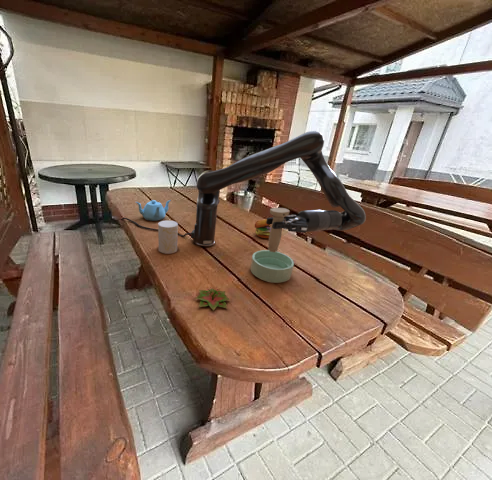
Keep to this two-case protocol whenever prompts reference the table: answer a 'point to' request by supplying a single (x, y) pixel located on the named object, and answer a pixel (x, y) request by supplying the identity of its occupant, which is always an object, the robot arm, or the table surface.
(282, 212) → the handle
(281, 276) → the pale green bowl
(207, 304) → the lily flower
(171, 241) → the white cylinder
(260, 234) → the cheeseburger
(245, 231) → the table surface
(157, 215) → the teapot
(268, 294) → the table surface
